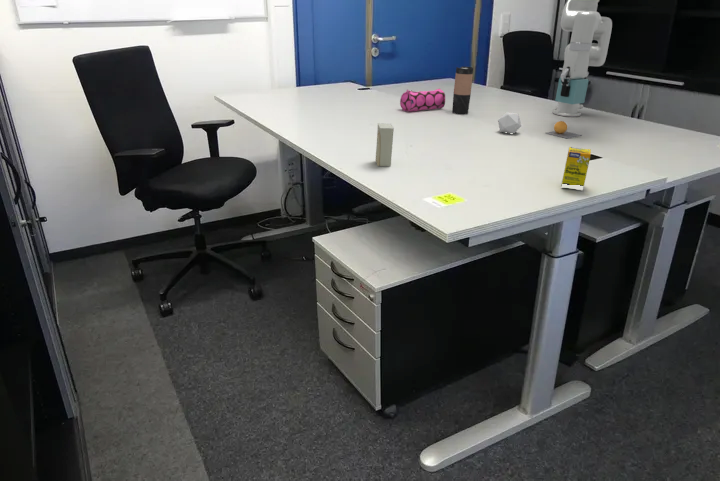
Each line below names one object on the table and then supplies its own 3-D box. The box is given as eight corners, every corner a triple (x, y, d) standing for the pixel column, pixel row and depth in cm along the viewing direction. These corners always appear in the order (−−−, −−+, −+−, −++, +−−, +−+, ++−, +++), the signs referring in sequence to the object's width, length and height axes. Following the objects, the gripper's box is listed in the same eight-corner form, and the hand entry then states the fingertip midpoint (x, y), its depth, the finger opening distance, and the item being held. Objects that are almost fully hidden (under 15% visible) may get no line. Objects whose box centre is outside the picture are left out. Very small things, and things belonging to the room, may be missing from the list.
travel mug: (468, 115, 245) (473, 69, 236) (451, 113, 246) (455, 68, 238) (468, 111, 252) (473, 66, 243) (452, 110, 253) (456, 66, 245)
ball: (572, 126, 215) (564, 135, 218) (564, 117, 217) (557, 127, 221) (563, 127, 212) (556, 136, 216) (556, 118, 214) (549, 128, 218)
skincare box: (375, 160, 174) (377, 123, 169) (389, 160, 175) (391, 123, 170) (377, 166, 169) (379, 127, 164) (391, 166, 169) (393, 127, 164)
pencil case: (411, 114, 244) (413, 91, 239) (398, 110, 251) (399, 88, 247) (447, 110, 255) (449, 88, 250) (433, 106, 262) (435, 85, 258)
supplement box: (560, 188, 155) (568, 151, 150) (561, 182, 160) (568, 146, 156) (583, 191, 153) (591, 154, 149) (583, 185, 158) (591, 148, 154)
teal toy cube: (566, 99, 216) (571, 76, 212) (584, 102, 210) (588, 79, 207) (555, 101, 212) (559, 77, 208) (572, 104, 206) (577, 80, 203)
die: (523, 134, 217) (516, 112, 218) (523, 128, 209) (516, 105, 210) (502, 140, 219) (496, 118, 220) (502, 134, 210) (495, 111, 212)
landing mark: (560, 130, 223) (560, 129, 223) (581, 135, 216) (581, 135, 216) (545, 133, 217) (545, 132, 217) (566, 138, 210) (566, 138, 210)
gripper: (584, 46, 210) (575, 92, 218) (557, 47, 201) (548, 95, 208) (602, 47, 205) (592, 95, 212) (575, 49, 195) (565, 98, 203)
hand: (570, 95), depth 210 cm, fingers closed on teal toy cube, 7 cm apart
